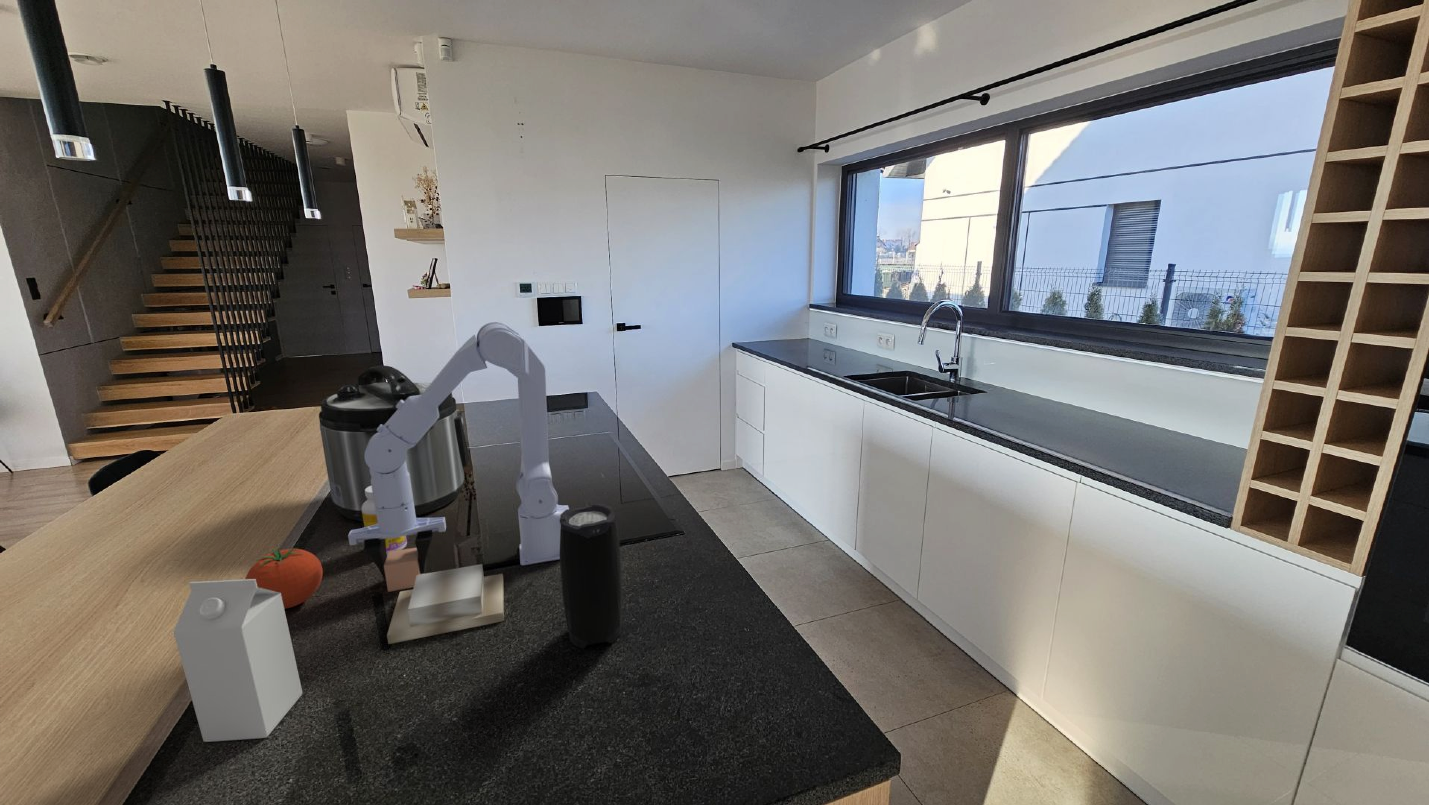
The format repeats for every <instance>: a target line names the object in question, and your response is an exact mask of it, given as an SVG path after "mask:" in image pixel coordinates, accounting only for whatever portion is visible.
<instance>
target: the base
mask: <svg viewBox="0 0 1429 805" xmlns="http://www.w3.org/2000/svg"><path fill="white" fill-rule="evenodd" d="M412 588H413V589H407V590H401V591H399V594H398V597H397V600H396V604H395V607H394V610H393V614H392V617H391V621H390V624H389V627H388V631H387V634H386V638H387V643H388V645H390V644H396V643H401V642H407V641H413V640H416V639H420V638H421V639H422V638H426V637H431V636H436V635H441V634H445V633H450V632H451V633H452V632H457V631H461V630H466V629H470V628H471V629H472V628H476V627H481V626H486V625H491V624H495V623H496V624H497V623H501V622H504V620H505V611H504V610H505V605H504V604H505V600H504V595H505V594H504V573H499V574H492V575H487V576H484V568H483V563H481V564H475V565H469V566H464V567H459V568H458V567H457V568H452V569H451V568H450V569H445V570H438V571H434V572H426V573H424V574H421V575H417V577H416V580H415V584H414V587H412Z"/></svg>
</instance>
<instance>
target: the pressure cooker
mask: <svg viewBox="0 0 1429 805" xmlns="http://www.w3.org/2000/svg"><path fill="white" fill-rule="evenodd" d="M385 380H386V381H385ZM431 383H432V382H413V381H412V380H411V379H410V378H409V377H408V376H407V375H405V374H404V373H403V372H401V371H400V370H399V369H397V368H395V367H393V366H389V365H375V366H371V367H369V368H367V369H366V370H364V371H363V372H362V373H361V374H359V376H357V382H355V385H354V384H353V385H352V384H349V385H348V384H346V385H343V386H341V387H340V388H339V389H338V390H337V392H336V393H334V394H331V395H329V396H327V397H325V398H324V399H322V400H321V402H320V409H321V411H319V413H318V420H319V431H320V436H321V442H322V447H323V453H324V454H323V455H324V460H325V461H324V462H325V466H326V472H327V478H328V483H329V488H330V495H331V499H332V502H333V504H334V507H335V508H336V510H337V511H338V512H339V513H340V515H342V516H343V517H346V518H348V519H349V520H354V521H360V522H364V521H363V515H362V505H363V503H364V502H365V501H367V500H368V499H367V497H366V496H365V489H366V488H367V487H369V486H371V474H370V467H369V466H368V465H367V464H366V462H365V450H366V448H367V445H368V442H369V440H370V439H371V437H372V436H373V435H375V434H376V433H379V432H378V431H377V428H378V427H379V426H380V425H381V424H382V425H385V423H386V422H387V421H388V420H389V419H390V418H391V417H392V415H393V414H394V413H395V412H396V411H397V410H398V408H396V405H397V404H398V402H399V401H400V400H403V401H406V399H407V398H408V397H410V396H416V395H421V394H423V393H424V391H425V390H426V389H427V388H428V386H429V385H430V384H431ZM438 411H439V418H438V419H437V421H436V422H435V423H434V424H433V425H432V426H431V428H430V429H429V430H428V431H427V432H426V433H425V435H424V436H423V437H422V438H421V439H420V440H419V441H418V443H417V444H416V445H415V446H414V447H412V448H410V449H408V450H407V452H406V464H407V470H408V472H409V474H410V481H411V488H412V494H413V501H414V508H415V514H416V517H417V516H422V515H425V514H427V513H430V512H432V511H436V510H438V509H439V508H442V507H444V506H446V505H448V504H450V502H452V501H454V500H455V499H456V498H457V497H459V495H460V494H461V491H462V490H463V487H464V486H465V472H464V468H467V467H468V463H469V461H470V455H469V449H468V444H467V438H466V431H465V427H464V419H463V413H462V411H461V410H460V409H458V408H457V401H456V398H455V397H454V396H453V391H452V392H451V393H450V394H449V395H448V396H447V397H446V399H445V400H444V401H443V402H442V403H441V404H440V405H439V406H438Z"/></svg>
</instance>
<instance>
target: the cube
mask: <svg viewBox="0 0 1429 805" xmlns="http://www.w3.org/2000/svg"><path fill="white" fill-rule="evenodd" d="M384 570H385V576H386V580H385V581H386V586H387V587H386V588H387V592H388V593H389V592H394V591H399V590H401V591H402V590H405V589H411V588H414V584H415V580H416V577H417V575H421V574H420V567H419V556H418V552H417V548H416V547H411V548H410V547H409V548H404V549H402V550H397V551H391V552H389V553H388V555H387V558H386V561H385V564H384Z"/></svg>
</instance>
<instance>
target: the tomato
mask: <svg viewBox="0 0 1429 805" xmlns="http://www.w3.org/2000/svg"><path fill="white" fill-rule="evenodd" d="M323 572H324V569H323V567H322V562H321V561H320V560H319V558H318V557H317V556H316V555H314V554H313V553H312V552H310V551H307V550H304V549H301V548H300V549H299V548H298V547H296V548H288V549H286V548H285V549H282V550H280V548H277V550H273V552H271V553H269V554H267V555H264V556H263V557H262V558H259V559H257V560H256V561H255V563H254V564H253V565H252V566H251V567H250V568H249V570H248V572H247V574H246V576H245V578H244V580H245V579H256V583H257V587H258V588H262V589H267V590H271V591H275V592H279V593H281V596H282V601H283V606H284V610H285V609H289V608H293V607H295V606H298V605H301V604H302V603H303V602H305V601H306V600H308V599H309V598H311V597H312V595H313V594H315V592H316V591H317V590H318V589H319V587H320V585H321V583H322V578H323V575H324V574H323Z"/></svg>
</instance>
